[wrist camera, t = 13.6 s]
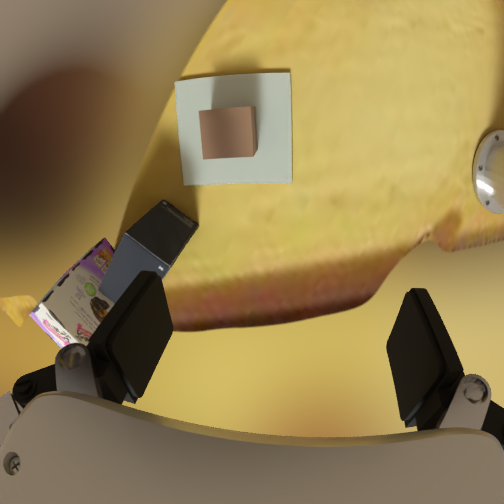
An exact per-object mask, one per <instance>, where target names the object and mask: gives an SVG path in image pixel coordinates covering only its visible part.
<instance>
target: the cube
mask: <svg viewBox="0 0 504 504" xmlns="http://www.w3.org/2000/svg"><path fill="white" fill-rule="evenodd" d="M199 121H200V133H201V143H202V154H203V160H205V159H220V158H239V157H254V155H255V153H256V152H257V150H258V143H257V124H256V107H255V106H247V107H232V108H220V109H210V110H201V111H199Z"/></svg>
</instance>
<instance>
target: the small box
mask: <svg viewBox="0 0 504 504" xmlns="http://www.w3.org/2000/svg"><path fill="white" fill-rule="evenodd" d="M198 227H199V226H198V224H197V223H196V222H194V221H192V220H191V219H190V218H188V217H187V216H185V215H184V214H183V213H181V212H180V211H179V210H177V209H176V208H175V207H174V206H173V205H171V204H170V203H168V202H166V201H165V200H162V201H160V202H159V203H158V204H157V205H156V206H155V207H154V208H152V209H151V210H150V211H149V212H148V213H147V214H145V215H144V216H143V217H142V218H141V219H140V220H139V221H137V222H136V223H135V224H134V225H133V226H132V227H131V228H130V229H129V230H127V231H126V232H125V233H124V235H123V237H122V239H121V241H120V243H119V245H118V247H117V249H116V251H115V253H114V255H113V257H112V260H111V262H110V264H109V266H108V268H107V270H106V273H105V275H104V277H103V279H102V281H101V284H100V286H99V288H98V290H99V291H100V292H101V293H102V294H103V295H104V296H106V297H107V298H108V299H110V300H111V301H112V302H114V303H116V302H117V300H118V299H119V298H120V296H121V295H122V294H123V293H124V291H125V290H126V289H127V288H128V286H129V285H130V284H131V282H132V281H133V280H134V279H135V277H136V276H137V275H138V274H139V272H140V271H142V270H146V271H155V272H156V273H157V275H158V276H160V277H161V279H162V280H163V278H164V277H165V276H166V274H167V273H168V271H169V270H170V268H171V267H172V265H173V264H174V262H175V261H176V259H177V258H178V256H179V255H180V253H181V252H182V250H183V249H184V247H185V245H186V244H187V243H188V241H189V240H190V238H191V237H192V235H193V234H194V233H195V231H196V230H197V229H198Z"/></svg>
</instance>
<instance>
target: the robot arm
mask: <svg viewBox="0 0 504 504" xmlns="http://www.w3.org/2000/svg"><path fill="white" fill-rule="evenodd" d="M473 185H474V189H475V193H476V196H477V198H478V200H479V201H480V203H481V204H482V205H483V206H484V208H486V209H487V210H489V211H490V212H492V213H495V214H503V213H504V130H494V131H492V132H490V133H489V134H488V135H486V136H485V137H484V139H483V140H482V142H481V143H480V145H479V147H478V149H477V152H476V155H475V158H474V164H473ZM172 332H173V324H172V320H171V316H170V313H169V309H168V305H167V300H166V296H165V292H164V288H163V283H162V279H161V277H160V276H158V275H157V273H156V272H155V271H146V270H142V271H140V272H139V274H138V275H137V276H136V277H135V279H134V280H133V281H132V282H131V284H130V285H129V286H128V288H127V289H126V290H125V291H124V293H123V294H122V295H121V296H120V298H119V299H118V300H117V302H116V303H115V304H114V306H113V307H112V308H111V310H110V311H109V312H108V314H107V315H106V316H105V318H104V319H103V320H102V322H101V323H100V324H99V326H98V327H97V328H96V330H95V331H94V333H93V334H92V335H91V337H90V338H89V340H88V341H89V343H88V344H87V346H85V345H84V344H82V343H71V344H68V345H66V346H64V347H63V348H62V349H61V350H60V351H59V352H58V354H57V355H56V358H55V364H54V365H51V366H48V367H45V368H42V369H40V370H37V371H34V372H32V373H29V374H26V375H23V376H22V377H20V378H19V379H18V380H17V381H16V383H15V384H14V387H13V392H12V393H11V392H10V391H9V392H7V393H6V394H4V395H3V396H2V397H0V504H504V408H502V407H501V406H499V405H498V404H496V403H494V402H493V401H492V400H491V388H490V386H489V384H488V382H486V380H485V379H484V378H482V377H481V376H479V375H476V374H469V375H466V376H465V375H464V372H463V367H462V364H461V362H460V359H459V357H458V355H457V352H456V350H455V348H454V346H453V343H452V341H451V339H450V336H449V334H448V332H447V330H446V327H445V325H444V323H443V321H442V319H441V317H440V315H439V313H438V311H437V309H436V307H435V305H434V303H433V301H432V299H431V297H430V295H429V293H428V292H427V290H426V289H424V288H412V289H411V290H410V291H409V292H407V293H406V294H405V297H404V300H403V303H402V305H401V308H400V311H399V313H398V316H397V319H396V321H395V324H394V326H393V329H392V331H391V334H390V336H389V339H388V341H387V346H386V349H387V354H388V358H389V362H390V367H391V371H392V376H393V381H394V385H395V390H396V396H397V401H398V406H399V412H400V417H401V420H402V421H405V427H406V428H407V427H414V426H417V429H418V431H415V432H408V433H399V434H390V435H389V434H388V435H377V436H362V437H293V436H277V435H265V434H256V433H248V432H240V431H233V430H226V429H220V428H214V427H209V426H203V425H198V424H193V423H188V422H183V421H179V420H175V419H171V418H167V417H163V416H159V415H155V414H152V413H148V412H145V411H141V410H137V409H134V408H131V407H127V406H124V405H122V403H123V401H127V402H131V403H134V404H135V403H136V401H137V399H138V398H141V397H142V396H143V394H144V392H145V389H146V387H147V385H148V383H149V381H150V379H151V377H152V375H153V372H154V370H155V368H156V366H157V364H158V362H159V360H160V358H161V356H162V354H163V352H164V349H165V347H166V345H167V343H168V341H169V339H170V337H171V335H172Z"/></svg>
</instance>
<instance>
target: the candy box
mask: <svg viewBox="0 0 504 504" xmlns="http://www.w3.org/2000/svg"><path fill="white" fill-rule="evenodd" d="M114 253H115V250H114V249H113V247H112V246H111V245H110V243H109V242H108V241H107V239H106V238H103V239H102V240H101V241H100V242H99V243H97V244H96V245H95V246H94V247H93V248H91V249H90V250H89V251H88V252H87V253H86V254H85V255H84V256H83V257H81V258H80V259H79V260H78V261H77V262H76V263H75V264H74V265H73V266H72V267H71V268H70V269H69V270H68V271H67V272H66V273H65V274H64V275H63V276H62V277H61V278H60V279H59V280H58V281H57V282H56V284H55V285H54V286H53V287H52V288H51V289H50V290H49V291H48V293H47V294H46V295H45V296H44V297H43V298H42V300H41V301H40V302H39V303H38V304H37V305H36V307H35V308H34V309H33V310H32V311H31V313H30V314H29V315H30V316H31V317H32V318H33V319H34V320H35V321H36V322H37V324H38V325H40V327H41V328H42V329H43V330H44V331H45V332H46V333H47V334H48V335H49V337H50V338H51V339H52V340H53V341H54V342H55V343H56V344H57V345H58V346H59V347H60V348H61V349H62V348H63V347H64V346H66V345H68V344H71V343H82V344H84V345H85V346H87V344H88V343H89V341H88V340H89V338H90V337H91V335H92V334H93V333H94V331H95V330H96V328H97V327H98V326H99V324H100V323H101V322H102V320H103V319H104V318H105V316H106V315H107V314H108V312H109V311H110V310H111V308H112V307H113V306H114V304H115V303H114V302H112V301H111V300H110V299H108V298H107V297H106V296H104V295H103V294H102V293H101V292H100V291H99V290H98V288H99V286H100V284H101V281H102V279H103V277H104V275H105V273H106V270H107V268H108V266H109V264H110V262H111V260H112V257H113V255H114Z"/></svg>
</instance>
